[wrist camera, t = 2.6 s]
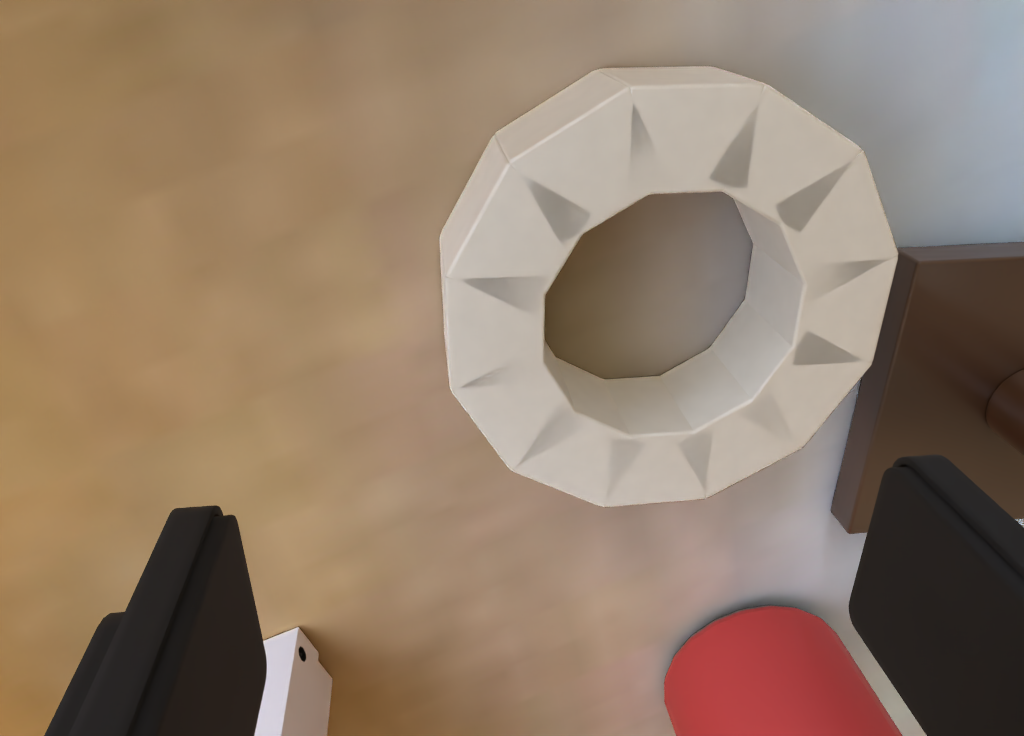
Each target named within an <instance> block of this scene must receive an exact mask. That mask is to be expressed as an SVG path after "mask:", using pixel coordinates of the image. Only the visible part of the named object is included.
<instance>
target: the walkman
mask: <svg viewBox="0 0 1024 736" xmlns="http://www.w3.org/2000/svg"><path fill="white" fill-rule="evenodd" d="M263 643H264V648H265V653H266V660H267V674H266V682H265V687H264V692H263V697H262V702H261V706H260V711H259V716H258V720H257V725H256V730H255V734H254V736H327V731H328V721H329V711H330V701H331V692H332V682H333V679H332V678H331V676H330V675H329V674H328V673H327V671H326V670H325V669H324V668H323V666H322V665H321V664H320V663H319V661H318V657H319V652H318V651H317V650H316V649H315V647H314V646H313V645H312V644H311V642H310V641H309V640H308V638H307V637H306V636H305V635H304V633H303V632H302V631H301V629H300V628H299V627H297V628H295V629H292V630H290V631H287V632H284V633H282V634H279V635H277V636H274V637H272V638H269V639H267V640H264V641H263Z"/></svg>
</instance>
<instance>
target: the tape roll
mask: <svg viewBox="0 0 1024 736" xmlns="http://www.w3.org/2000/svg"><path fill="white" fill-rule="evenodd" d="M698 192H724V193H725V194H727V195H729V196H730V197H732V198H733V199H734V201H735V203H736V206H737V208H738V210H739V213H740V215H741V217H742V219H743V222H744V224H745V226H746V228H747V231H748V233H749V235H750V238H751V240H752V242H753V249H752V255H751V262H750V269H749V275H748V282H747V289H746V296H745V300H744V301H743V302H742V304H741V305H740V307H739V308H738V309H737V311H736V312H735V313H734V315H733V316H732V318H731V319H730V320H729V322H728V323H727V324H726V326H725V327H724V329H723V330H722V331H721V333H720V334H719V336H718V337H717V338H716V340H715V341H714V342H713V344H712V345H711V347H710V348H709V349H707V350H705V351H703V352H701V353H700V354H698V355H696V356H694V357H693V358H691V359H689V360H687V361H685V362H684V363H682V364H680V365H678V366H676V367H675V368H673V369H671V370H669V371H667V372H666V373H664V374H662V375H660V376H650V377H635V378H619V379H602V378H600V377H597V376H595V375H593V374H591V373H589V372H587V371H585V370H582V369H580V368H578V367H576V366H574V365H572V364H570V363H567V362H565V361H563V360H561V359H559V358H557V357H555V355H554V354H553V352H552V351H551V349H550V347H549V346H548V344H547V343H546V341H545V340H544V328H545V295H546V293H547V292H548V290H549V288H550V287H551V285H552V283H553V282H554V280H555V278H556V277H557V275H558V274H559V272H560V270H561V269H562V267H563V265H564V264H565V262H566V260H567V259H568V257H569V256H570V254H571V252H572V251H573V249H574V247H575V246H576V244H577V242H578V241H579V239H580V238H581V236H582V234H584V233H586V232H587V231H589V230H591V229H592V228H594V227H596V226H597V225H599V224H601V223H602V222H604V221H606V220H607V219H609V218H611V217H612V216H614V215H616V214H617V213H619V212H621V211H622V210H624V209H626V208H627V207H629V206H631V205H632V204H634V203H636V202H638V201H639V200H641V199H643V198H644V197H646V196H648V195H649V194H672V193H698ZM439 242H440V261H441V281H442V300H443V320H444V337H445V347H446V356H447V366H448V376H449V386H450V389H451V392H452V393H453V395H454V396H455V397H456V399H457V400H458V401H459V403H460V404H461V405H462V407H463V408H464V409H465V411H466V412H467V413H468V415H469V416H470V417H471V419H472V420H473V421H474V423H475V424H476V425H477V427H478V428H479V429H480V431H481V432H482V433H483V435H484V436H485V438H486V439H487V440H488V442H489V443H490V444H491V446H492V447H493V448H494V450H495V451H496V452H497V454H498V455H499V456H500V458H501V459H502V460H503V462H504V463H505V464H506V466H507V467H508V468H509V469H510V470H511V471H512V472H515V473H517V474H520V475H522V476H525V477H527V478H530V479H532V480H535V481H537V482H540V483H542V484H545V485H547V486H550V487H552V488H555V489H557V490H560V491H562V492H565V493H567V494H570V495H572V496H575V497H577V498H580V499H582V500H585V501H587V502H590V503H592V504H595V505H597V506H600V507H617V506H629V505H641V504H653V503H665V502H678V501H690V500H702V499H705V498H709V497H711V496H713V495H715V494H716V493H718V492H720V491H722V490H724V489H726V488H728V487H730V486H732V485H734V484H735V483H737V482H739V481H741V480H743V479H745V478H747V477H749V476H751V475H753V474H754V473H756V472H758V471H760V470H762V469H764V468H766V467H768V466H770V465H771V464H773V463H775V462H777V461H779V460H781V459H783V458H785V457H787V456H789V455H790V454H792V453H794V452H796V451H798V450H800V448H803V447H804V446H805V445H806V444H807V442H808V441H809V440H810V439H811V438H812V436H813V435H814V434H815V433H816V431H817V430H818V429H819V428H820V427H821V425H822V424H823V423H824V422H825V421H826V419H827V418H828V417H829V416H830V415H831V413H832V412H833V411H834V410H835V408H836V407H837V406H838V405H839V404H840V402H841V401H842V400H843V399H844V398H845V396H846V395H847V394H848V393H849V391H850V390H851V389H852V388H853V387H854V385H855V384H856V383H857V382H858V381H859V379H860V378H861V377H862V376H863V375H864V373H865V372H866V371H867V370H868V368H869V367H870V366H871V365H872V361H873V359H874V355H875V351H876V346H877V342H878V338H879V334H880V330H881V326H882V322H883V318H884V314H885V310H886V305H887V301H888V297H889V293H890V289H891V285H892V281H893V277H894V273H895V268H896V264H897V260H898V251H897V248H896V245H895V242H894V239H893V236H892V233H891V230H890V227H889V224H888V221H887V218H886V215H885V212H884V209H883V206H882V203H881V200H880V197H879V194H878V191H877V188H876V185H875V182H874V179H873V176H872V173H871V170H870V167H869V164H868V161H867V158H866V155H865V152H864V151H863V150H861V148H860V146H858V145H857V144H855V143H854V142H852V141H851V140H849V139H848V138H846V137H845V136H843V135H842V134H840V133H839V132H837V131H836V130H835V129H833V128H832V127H830V126H829V125H827V124H826V123H824V122H823V121H821V120H820V119H818V118H817V117H815V116H814V115H812V114H811V113H809V112H808V111H807V110H805V109H804V108H802V107H801V106H799V105H798V104H796V103H795V102H793V101H792V100H790V99H789V98H787V97H786V96H784V95H783V94H781V93H780V92H778V91H777V90H776V89H774V88H773V87H771V86H770V85H768V84H766V83H763V82H760V81H757V80H753V79H750V78H747V77H744V76H741V75H738V74H735V73H732V72H729V71H726V70H723V69H719V68H716V67H713V66H681V67H632V68H600V69H598V70H593V71H592V72H590V73H589V74H587V75H585V76H584V77H582V78H581V79H579V80H578V81H576V82H574V83H573V84H571V85H570V86H568V87H566V88H565V89H563V90H562V91H560V92H559V93H557V94H555V95H554V96H552V97H551V98H549V99H547V100H546V101H544V102H543V103H541V104H540V105H538V106H536V107H535V108H533V109H532V110H530V111H528V112H527V113H525V114H524V115H522V116H521V117H519V118H517V119H516V120H514V121H513V122H511V123H509V124H508V125H506V126H505V127H503V128H502V129H500V130H498V131H497V132H496V133H495V135H494V136H493V137H492V138H491V139H490V141H489V143H488V145H487V147H486V149H485V151H484V153H483V154H482V156H481V158H480V160H479V162H478V164H477V166H476V168H475V169H474V171H473V173H472V175H471V177H470V179H469V181H468V183H467V184H466V186H465V188H464V190H463V192H462V194H461V196H460V198H459V199H458V201H457V203H456V205H455V207H454V209H453V211H452V212H451V214H450V216H449V218H448V220H447V222H446V224H445V226H444V227H443V229H442V231H441V235H440V236H439Z"/></svg>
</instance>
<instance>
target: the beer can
mask: <svg viewBox="0 0 1024 736" xmlns="http://www.w3.org/2000/svg"><path fill="white" fill-rule="evenodd" d="M664 690H665V705H666V708H667V710H668V713H669V716H670V719H671V722H672V725H673V728H674V730H675V733H676V736H902V734H901V733H900V731H899V729H898V728H897V726H896V725H895V723H894V722H893V720H892V719H891V717H890V715H889V714H888V712H887V711H886V709H885V708H884V706H883V705H882V703H881V702H880V700H879V698H878V697H877V695H876V694H875V692H874V691H873V689H872V688H871V686H870V684H869V683H868V681H867V680H866V678H865V677H864V675H863V674H862V672H861V670H860V669H859V667H858V666H857V664H856V663H855V661H854V660H853V658H852V657H851V655H850V653H849V652H848V650H847V649H846V647H845V646H844V644H843V643H842V641H841V639H840V638H839V636H838V635H837V633H836V632H835V631H834V630H833V629H832V628H831V627H830V626H829V625H828V624H826V623H825V622H824V621H823V620H822V619H821V618H819V617H818V616H815V615H813V614H810V613H808V612H805V611H803V610H800V609H797V608H794V607H784V606H771V605H764V606H759V607H753V608H747V609H741V610H738V611H735V612H733V613H730V614H728V615H725V616H723V617H721V618H718V619H716V620H713V621H712V622H710V623H709V624H708V625H706V626H705V627H703V628H702V629H700V630H699V631H697V632H696V633H695V634H693V635H692V636H691V637H690V638H689V639H688V640H687V641H686V643H685V644H684V645H683V646H682V647H681V648H680V650H679V651H678V652H677V653H676V654H675V656H674V658H673V660H672V663H671V665H670V667H669V670H668V672H667V674H666V677H665V682H664Z"/></svg>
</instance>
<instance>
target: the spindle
mask: <svg viewBox="0 0 1024 736" xmlns="http://www.w3.org/2000/svg"><path fill="white" fill-rule="evenodd" d="M897 251H898V260H897V264H896V268H895V273H894V277H893V281H892V285H891V289H890V293H889V297H888V301H887V305H886V310H885V314H884V318H883V322H882V326H881V330H880V334H879V338H878V342H877V346H876V351H875V355H874V359H873V361H872V365H871V366H870V367H869V368H868V370H867V371H866V372H865V373H864V375H863V377H862V381H861V386H860V390H859V394H858V398H857V402H856V406H855V411H854V415H853V419H852V423H851V427H850V432H849V436H848V440H847V444H846V448H845V452H844V457H843V461H842V465H841V469H840V473H839V478H838V482H837V486H836V490H835V494H834V498H833V503H832V507H831V512H832V514H833V515H834V516H835V518H836V519H837V520H838V521H839V523H840V524H841V525H842V527H843V528H844V529H845V530H846V532H847V533H849V534H855V533H866V532H868V529H869V525H870V521H871V518H872V514H873V510H874V506H875V503H876V499H877V495H878V491H879V487H880V484H881V480H882V476H883V474H884V472H885V471H886V470H887V469H888V468H891V467H892V466H893V464H894V462H895V461H896V460H897V459H898V458H901V457H908V456H922V455H936V454H937V455H942V456H944V457H946V458H947V459H949V460H950V461H951V462H952V463H953V464H954V465H955V466H956V467H957V468H958V469H960V470H961V471H962V472H963V473H964V474H965V475H966V476H967V477H968V478H969V479H971V480H972V481H973V482H974V483H975V484H976V485H977V486H978V487H979V488H980V489H982V490H983V491H984V492H985V493H986V494H987V495H988V496H989V497H990V498H991V499H993V500H994V501H995V502H996V503H997V504H998V505H999V506H1000V507H1001V508H1003V509H1004V510H1005V511H1006V512H1007V513H1008V514H1009V515H1010V516H1011V517H1012V518H1014V519H1023V518H1024V242H1012V243H991V244H970V245H949V246H928V247H907V248H897Z"/></svg>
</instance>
